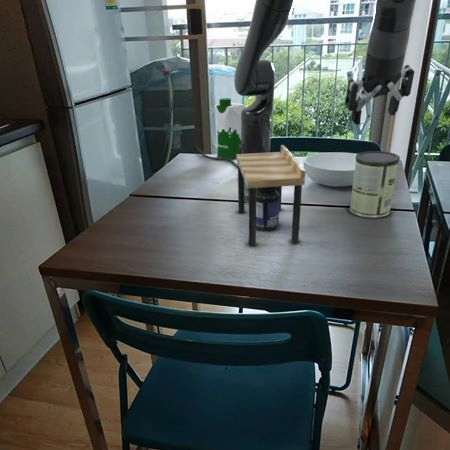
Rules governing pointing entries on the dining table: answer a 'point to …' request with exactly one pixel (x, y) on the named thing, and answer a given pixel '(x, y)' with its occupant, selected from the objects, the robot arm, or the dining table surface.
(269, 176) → the shelf riser
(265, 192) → the pill bottle
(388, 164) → the coffee can
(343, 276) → the dining table surface
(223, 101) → the milk carton
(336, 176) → the serving bowl
